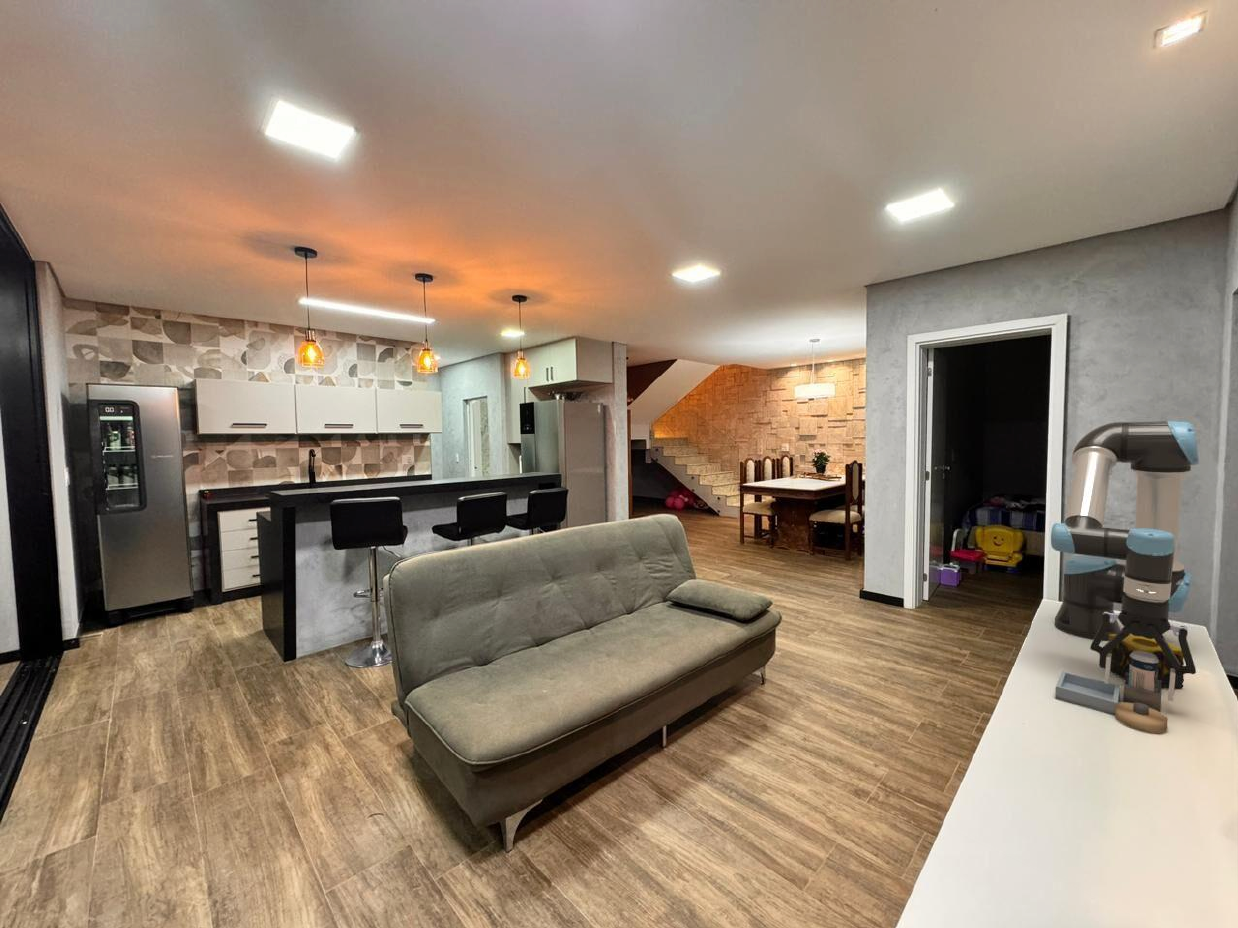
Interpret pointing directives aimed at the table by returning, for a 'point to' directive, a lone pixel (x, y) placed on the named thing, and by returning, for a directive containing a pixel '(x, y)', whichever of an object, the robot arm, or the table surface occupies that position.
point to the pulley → (1141, 717)
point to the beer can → (1143, 670)
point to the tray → (1088, 692)
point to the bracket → (1142, 695)
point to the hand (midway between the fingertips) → (1137, 689)
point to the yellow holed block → (1133, 643)
